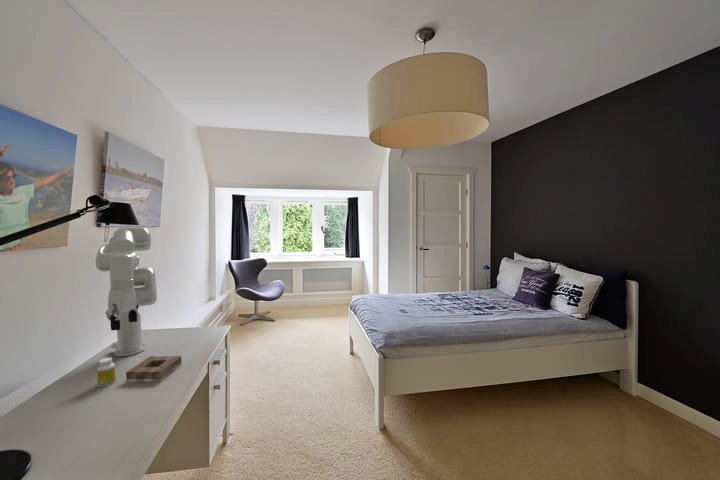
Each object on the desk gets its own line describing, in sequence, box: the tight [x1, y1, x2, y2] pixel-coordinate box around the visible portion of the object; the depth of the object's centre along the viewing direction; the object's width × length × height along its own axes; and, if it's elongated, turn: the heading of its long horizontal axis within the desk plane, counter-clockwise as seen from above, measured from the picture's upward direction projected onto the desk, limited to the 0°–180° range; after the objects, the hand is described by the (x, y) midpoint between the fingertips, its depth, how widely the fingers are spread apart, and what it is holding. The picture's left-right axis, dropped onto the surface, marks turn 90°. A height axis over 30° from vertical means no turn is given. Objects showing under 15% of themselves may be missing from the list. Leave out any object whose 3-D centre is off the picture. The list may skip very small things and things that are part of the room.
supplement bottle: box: [96, 357, 116, 387], centre depth 119 cm, size 5×5×10 cm
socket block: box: [125, 355, 183, 383], centre depth 127 cm, size 14×14×4 cm
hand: (124, 325), depth 122 cm, fingers open, 9 cm apart
